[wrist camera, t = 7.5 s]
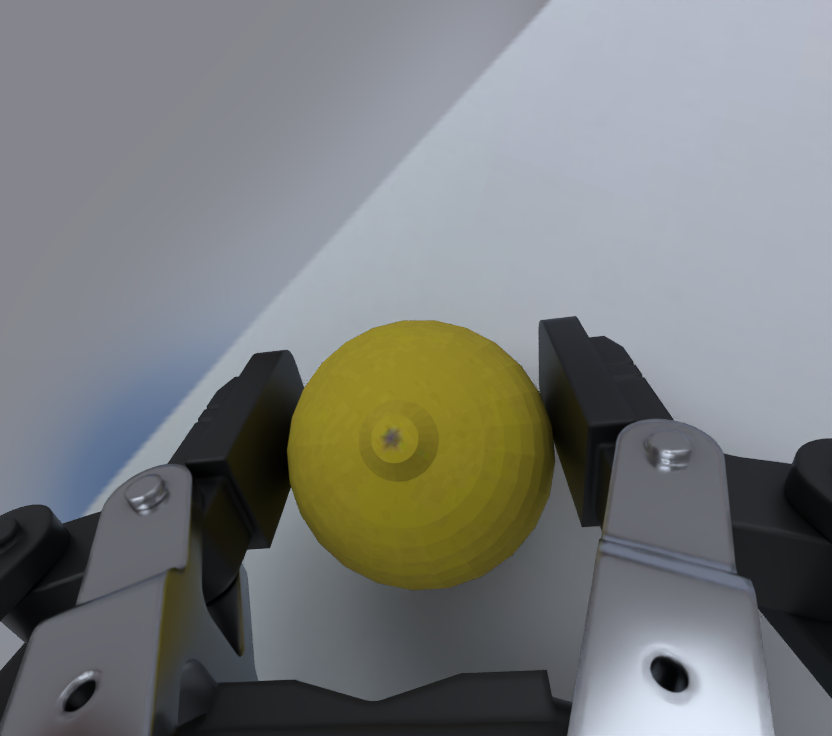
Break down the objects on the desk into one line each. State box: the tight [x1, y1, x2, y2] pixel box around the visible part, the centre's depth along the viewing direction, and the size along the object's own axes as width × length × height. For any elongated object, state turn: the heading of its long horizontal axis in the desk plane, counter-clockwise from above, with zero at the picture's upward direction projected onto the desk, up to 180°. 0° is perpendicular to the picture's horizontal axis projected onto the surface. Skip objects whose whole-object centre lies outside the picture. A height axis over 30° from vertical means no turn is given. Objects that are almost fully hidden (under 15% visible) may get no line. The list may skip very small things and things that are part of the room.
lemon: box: [287, 320, 555, 590], centre depth 10 cm, size 6×6×8 cm
